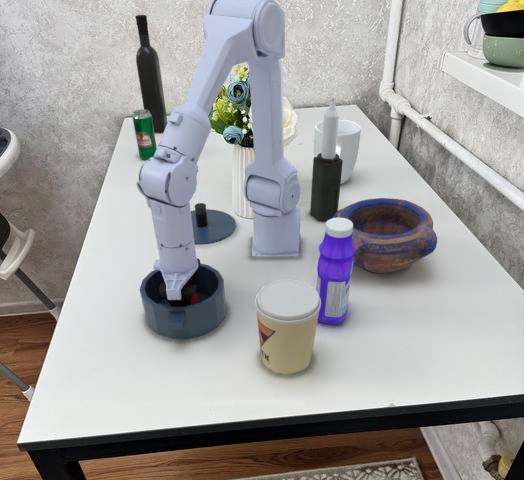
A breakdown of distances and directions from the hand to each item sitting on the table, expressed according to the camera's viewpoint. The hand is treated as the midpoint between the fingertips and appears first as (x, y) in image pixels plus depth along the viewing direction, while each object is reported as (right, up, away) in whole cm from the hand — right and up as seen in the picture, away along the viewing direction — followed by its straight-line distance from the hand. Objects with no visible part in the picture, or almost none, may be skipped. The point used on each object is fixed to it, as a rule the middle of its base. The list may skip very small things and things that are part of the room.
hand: (185, 308), depth 84 cm
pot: (0, -1, +1) cm, 1 cm away
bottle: (+25, -1, +1) cm, 25 cm away
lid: (0, +20, +23) cm, 30 cm away
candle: (+27, +23, +27) cm, 45 cm away
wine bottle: (-20, +62, +70) cm, 95 cm away
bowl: (+36, +11, +13) cm, 40 cm away
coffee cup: (+17, -9, -7) cm, 20 cm away
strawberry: (0, -1, +1) cm, 1 cm away
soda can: (-19, +47, +53) cm, 74 cm away
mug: (+31, +36, +40) cm, 62 cm away
